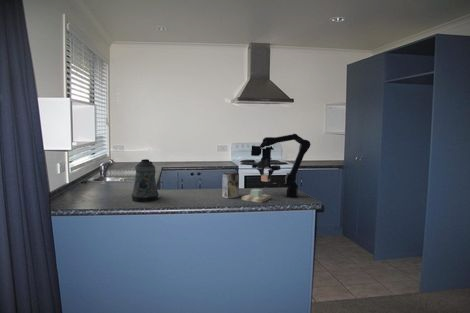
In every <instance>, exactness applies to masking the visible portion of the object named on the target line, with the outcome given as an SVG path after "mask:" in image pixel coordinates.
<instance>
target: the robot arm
mask: <svg viewBox="0 0 470 313" xmlns="http://www.w3.org/2000/svg"><path fill="white" fill-rule="evenodd" d="M289 141H295V142H297V143H298V144H299V146H298V153H297V154H296V155H297V156H296V158H295V159H294V163H292V164H293V165H292V168H291V170H290V171H289V172H286V175H285V176H284V181H285V183H286V185H287V189H286V198H293V199H294V198H295V199H296V198H298V197H299V185H298V184H297V182H296V180H297V173H298V171H299V169H300V166H301V163H302V161H303V159H304V156H305V155H306V153H307V152H308V151H309V149H310V147H311V142H310V140H307V139H304V138H303V137H301V136H300V135H298V134H297V133H292V134H288V135H287V134H286V135H281V136H280V135H279V136H276V137H275V136H274V137H273V136H271V137H270V136H269V137H267V136H266V137H264V138H262V142H261V143H260V144H259V145H251V150H250V156H251V157H260V156H261V157H260V161H258V162H254V163H252V165H251V168H252V169H256V170H257V171H258V172H259V174H260V176H261V175H264V174H265V169H268V174H267V175H268V180H270V181H271V178H272V176H273V173H274V172H275V171H279V170H281V165H279V164H274V165H272V162H271V160H272V154H271V153H272V150H273V151H274V147H273V146H272V145H275V144H279V143H285V142H289Z"/></svg>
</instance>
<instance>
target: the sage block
mask: <svg viewBox="0 0 470 313" xmlns="http://www.w3.org/2000/svg"><path fill="white" fill-rule="evenodd" d="M250 193H251V196H252V197H260V196H262V194H263V189H259V188H253V189H250Z"/></svg>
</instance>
